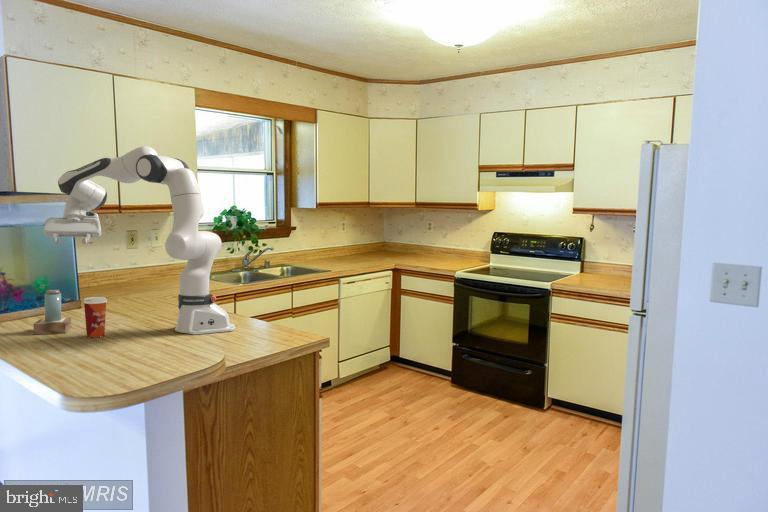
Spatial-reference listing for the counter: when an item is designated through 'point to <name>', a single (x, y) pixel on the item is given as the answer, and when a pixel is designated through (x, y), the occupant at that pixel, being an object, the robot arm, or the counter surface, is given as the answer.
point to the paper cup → (95, 316)
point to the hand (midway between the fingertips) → (71, 243)
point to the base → (52, 326)
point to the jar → (52, 305)
